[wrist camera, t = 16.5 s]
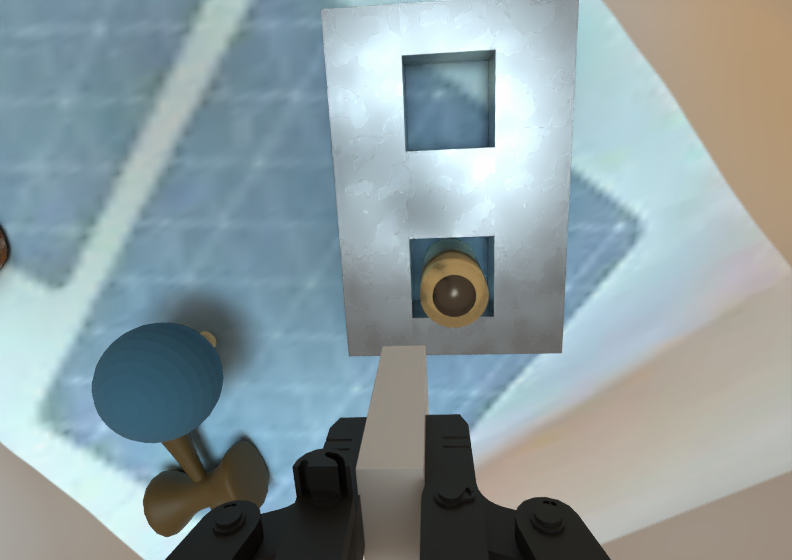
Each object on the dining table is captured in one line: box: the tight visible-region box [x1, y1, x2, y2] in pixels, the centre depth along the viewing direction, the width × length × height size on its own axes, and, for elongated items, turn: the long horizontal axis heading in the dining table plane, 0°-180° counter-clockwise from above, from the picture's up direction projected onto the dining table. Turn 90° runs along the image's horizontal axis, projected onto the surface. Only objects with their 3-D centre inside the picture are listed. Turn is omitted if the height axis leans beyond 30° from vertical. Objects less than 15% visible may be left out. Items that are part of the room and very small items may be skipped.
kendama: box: [143, 433, 269, 537], centre depth 43 cm, size 6×10×20 cm
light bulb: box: [92, 323, 223, 443], centre depth 36 cm, size 8×8×12 cm
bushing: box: [420, 239, 489, 328], centre depth 35 cm, size 4×4×8 cm
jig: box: [321, 0, 579, 356], centre depth 35 cm, size 24×16×4 cm, turn 3°
